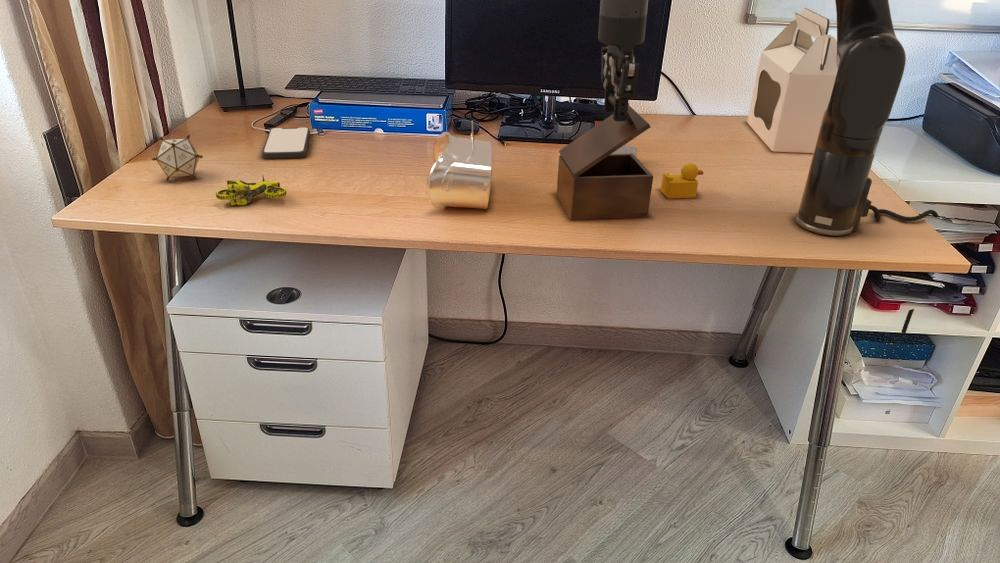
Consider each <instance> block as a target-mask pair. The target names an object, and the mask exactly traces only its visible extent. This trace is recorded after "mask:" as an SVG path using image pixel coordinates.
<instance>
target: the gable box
mask: <svg viewBox="0 0 1000 563" xmlns="http://www.w3.org/2000/svg"><path fill="white" fill-rule="evenodd" d="M793 14H794V17H795V20H792V21H791V22H790V23H789V24H788V25H787V26H786V27H784V29H782V31H781V32H780V33H779V34H778V35H777V36H776V37H775V38H774V39H773V40H772V41H771V42H770V43H769V44H768V45H767V46H766V47H765V49H764V50H762V51H761V52H760V57H759V61H758V66H757V71H756V75H755V80H754V85H753V90H752V95H751V99H750V100H751V101H750V104H749V108H748V109H749V110H748V115H747V120H746V123H747V124H748V125H749V126H750V128H751V129H752V130H753V131H754V132H755V134H757V137H759V138H760V139H761V140H762V142H763V143H764V144H765V145H766V146H767V147H768V148H769V149H770V151H771V152H773V153H795V154H814V150H815V146H816V142H817V138H818V134H819V130H820V127H821V122H822V118H823V115H824V112H825V110H826V109H827V106H828V104H829V101H830V97H831V94H832V90H833V86H834V83H835V79H836V75H837V71H838V68H837V64H836V54H837V38H836V37H835V36H832V35H831V34H829V30H830V23H831V22H830V19H829V18H827V17H825V16H823V15H822V14H819V13H817V12H815V11H813V10H811V9H809V8H807V7H803V8H802V9H801V11H800V14H799V13H797V12H794V13H793ZM812 38H814V39H815V40H814V41H813V39H812Z"/></svg>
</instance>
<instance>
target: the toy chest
mask: <svg viewBox="0 0 1000 563" xmlns="http://www.w3.org/2000/svg"><path fill="white" fill-rule="evenodd" d="M653 183H654V175H653V174H652V172H650V171H649V169H648V168H647V167H646V166H645V165H644V164H643V163H642V162H641V161H640V159H638V157H637V156H636V157H635V156H634V154H633V153H630V154H610V155H609V156H607V157H606V158H604V159H603V160H601V161H600V162H598V163H597V164H595V165H594V166H592V167H591V168H589V169H588V170H586V171H585V172H583V173H582V174H580V175H579V176H578V177H575V176H574V174H573V173H572V171H571V170H570V168H569V167H568V165H567V164H566V162H565V161H564V159H563V158H562V156H561V155H560V154H559V155H558V166H557V182H556V197H557V198H558V200H559V201H560V203H561V205H562V207H563V209H564V210H565V212H566V214H567V216H568V217H569V219H570V221H582V220H584V221H585V220H608V219H635V218H648V217H649V211H650V203H651V196H652V189H653Z"/></svg>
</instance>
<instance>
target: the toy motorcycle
mask: <svg viewBox="0 0 1000 563" xmlns="http://www.w3.org/2000/svg"><path fill="white" fill-rule="evenodd" d="M261 177H262V180H261V181H260V182H245V181H243V180H235V179H234V180H232V179H231V180H230V179H228V180H226V186H227V188H223V189H220V190H218V191H216V192H215V197H216V199H218V200H222V201H224V200H225V201H229V200H230V205H231V206H246V205H247V204H249V203H251V202H252V198H256V197H258V196H260V195H261V194H264V196H265V197H266V198H268V199H279V198H283V197H286V196H287V193H288V192H287V189H286V188H285V187H281V183H280V181H268V180H265V176H264V174H262V176H261ZM237 197H239V198H237Z"/></svg>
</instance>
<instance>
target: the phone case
mask: <svg viewBox="0 0 1000 563" xmlns="http://www.w3.org/2000/svg"><path fill="white" fill-rule="evenodd" d="M310 137H311V129H310V128H309V127H306V126H304V127H303V126H300V127H299V126H298V127H272V128H271V129H269V131H268V134H267V136H266V140H265V143H264V146H263V149H262V151H261V153H262V154H261V155H262V158H263V159H265V160H276V159H279V160H280V159H302V158H304V157H306V155H307V150H308V146H309V141H310Z"/></svg>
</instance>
